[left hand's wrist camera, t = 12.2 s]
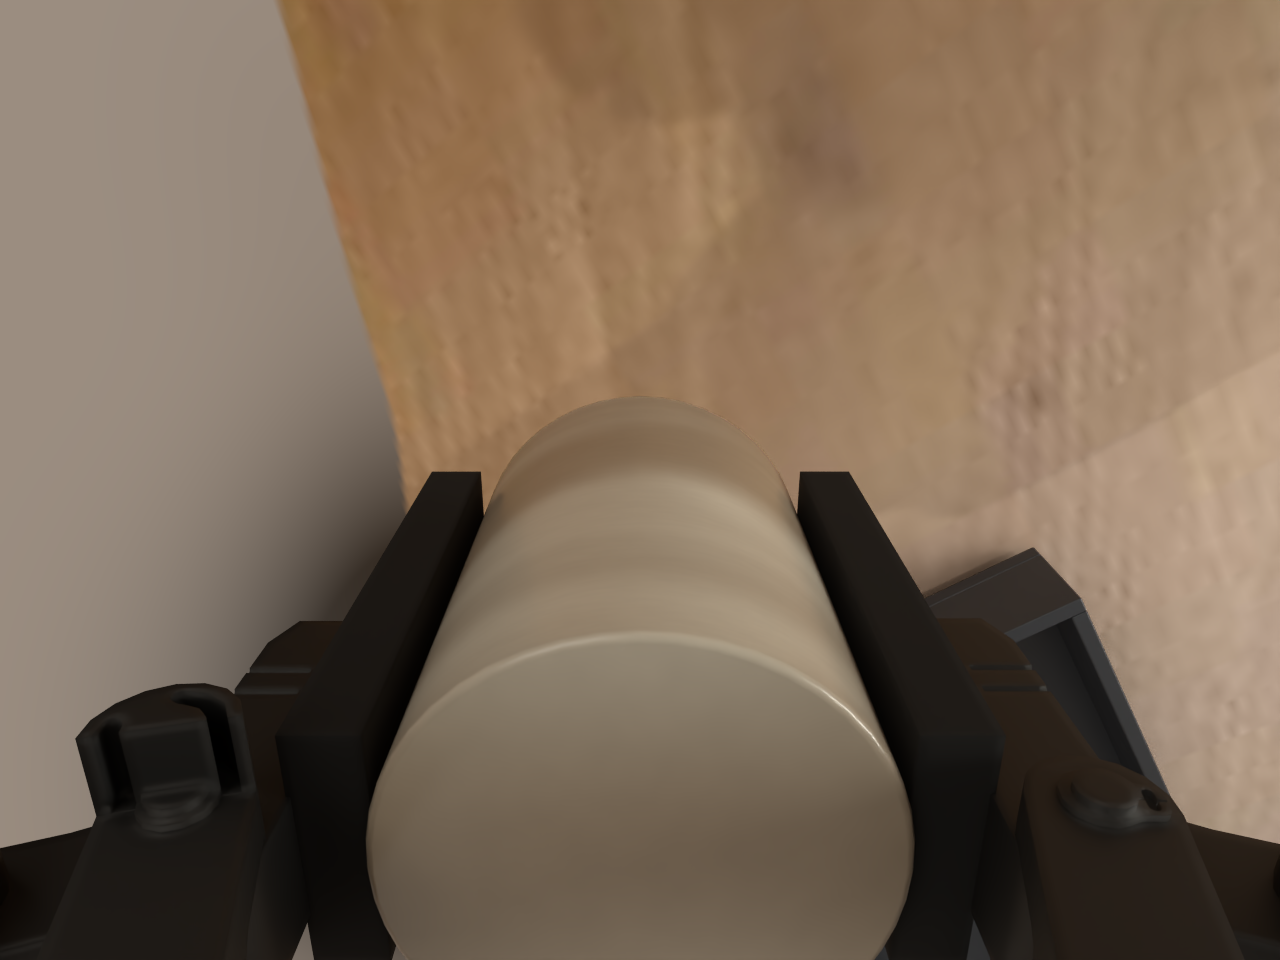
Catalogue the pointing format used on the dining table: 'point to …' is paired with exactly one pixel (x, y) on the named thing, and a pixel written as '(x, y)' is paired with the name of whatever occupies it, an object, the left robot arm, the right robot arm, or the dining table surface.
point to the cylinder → (640, 721)
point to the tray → (1052, 660)
